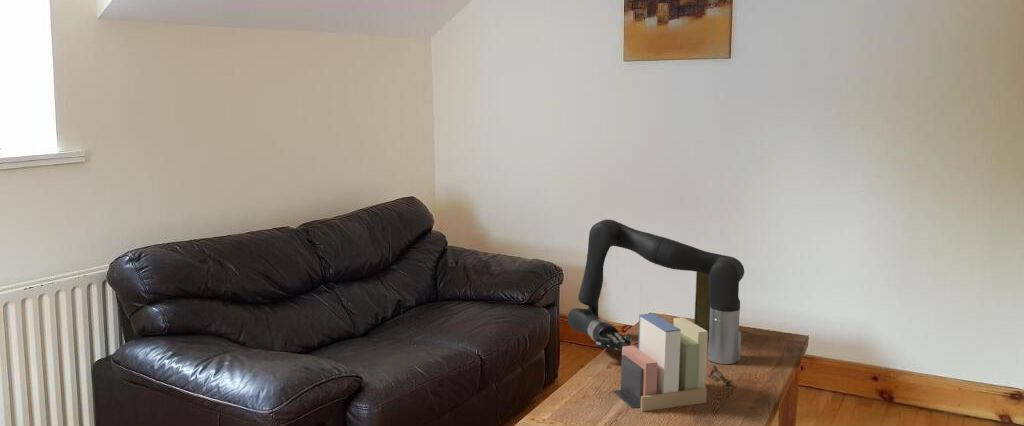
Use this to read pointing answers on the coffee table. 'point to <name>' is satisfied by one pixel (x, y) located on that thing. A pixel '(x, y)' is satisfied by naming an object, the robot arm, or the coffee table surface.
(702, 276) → the book
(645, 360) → the book rack
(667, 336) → the blue book
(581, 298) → the robot arm
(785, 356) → the coffee table surface
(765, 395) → the coffee table surface
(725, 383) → the brown irregular piece
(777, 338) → the coffee table surface
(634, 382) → the bookend
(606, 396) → the coffee table surface
